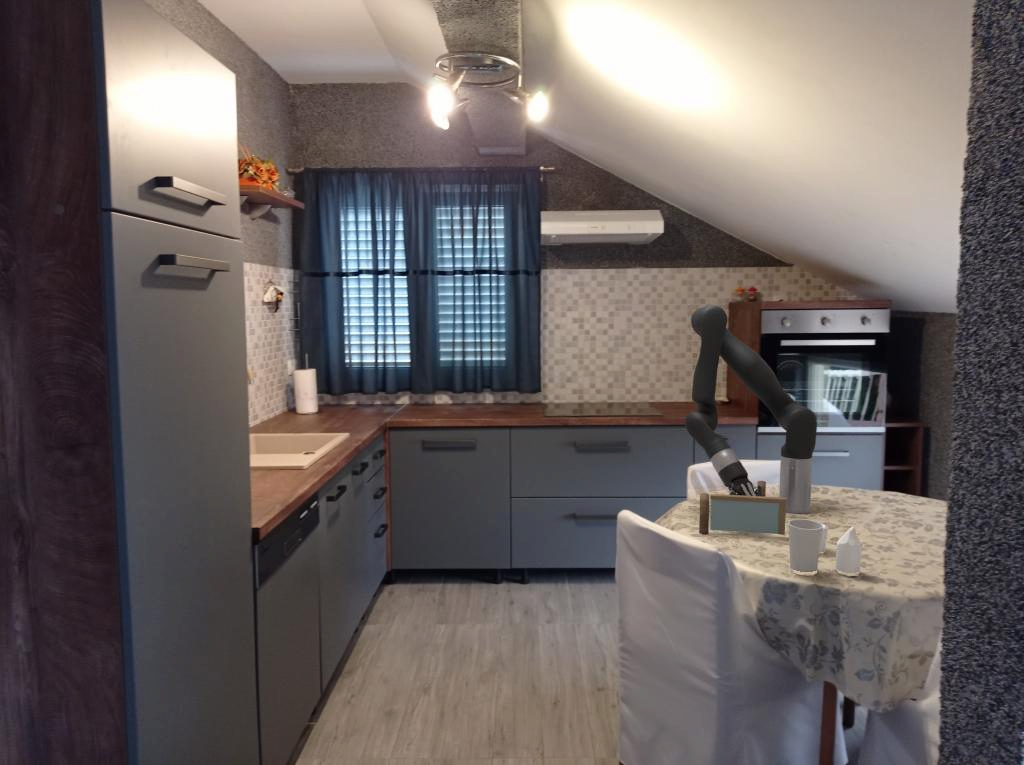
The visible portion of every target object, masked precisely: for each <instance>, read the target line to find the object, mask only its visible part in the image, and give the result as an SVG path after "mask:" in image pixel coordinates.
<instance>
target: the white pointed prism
mask: <svg viewBox="0 0 1024 765" xmlns="http://www.w3.org/2000/svg"><path fill="white" fill-rule="evenodd" d="M862 549H863V546H862V542H861V541H860V538H859V537H858V534H857V532H856V528H855V526H854V525H852V526H851V527H850V528H848V529H847V530H846V531H845V533H844V534H843V536H841V537H840V538H839V539H838V540H837V543H836V555H835V567H834V568H836V569H837V570H839V571H842V572H846V573H856V572H859V571H860V572H861V565H862V562H861V561H862V552H863V551H862ZM860 572H859V573H860Z"/></svg>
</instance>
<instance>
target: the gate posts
mask: <svg viewBox="0 0 1024 765" xmlns="http://www.w3.org/2000/svg"><path fill="white" fill-rule="evenodd" d="M766 485H767V482H766V481H765V480H757V486H756V487H758V486H761V488H762V496H763V497H766V492H767V490H766V488H767V486H766ZM698 522H699V523H698V524H699V525H698V527H699V529H698V532H699V533H698V534H700V535H708V534H709V533H710V531H709V530H710V494H709V493H707V492H706V493H705V492H701V493H700V494H699V520H698Z"/></svg>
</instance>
